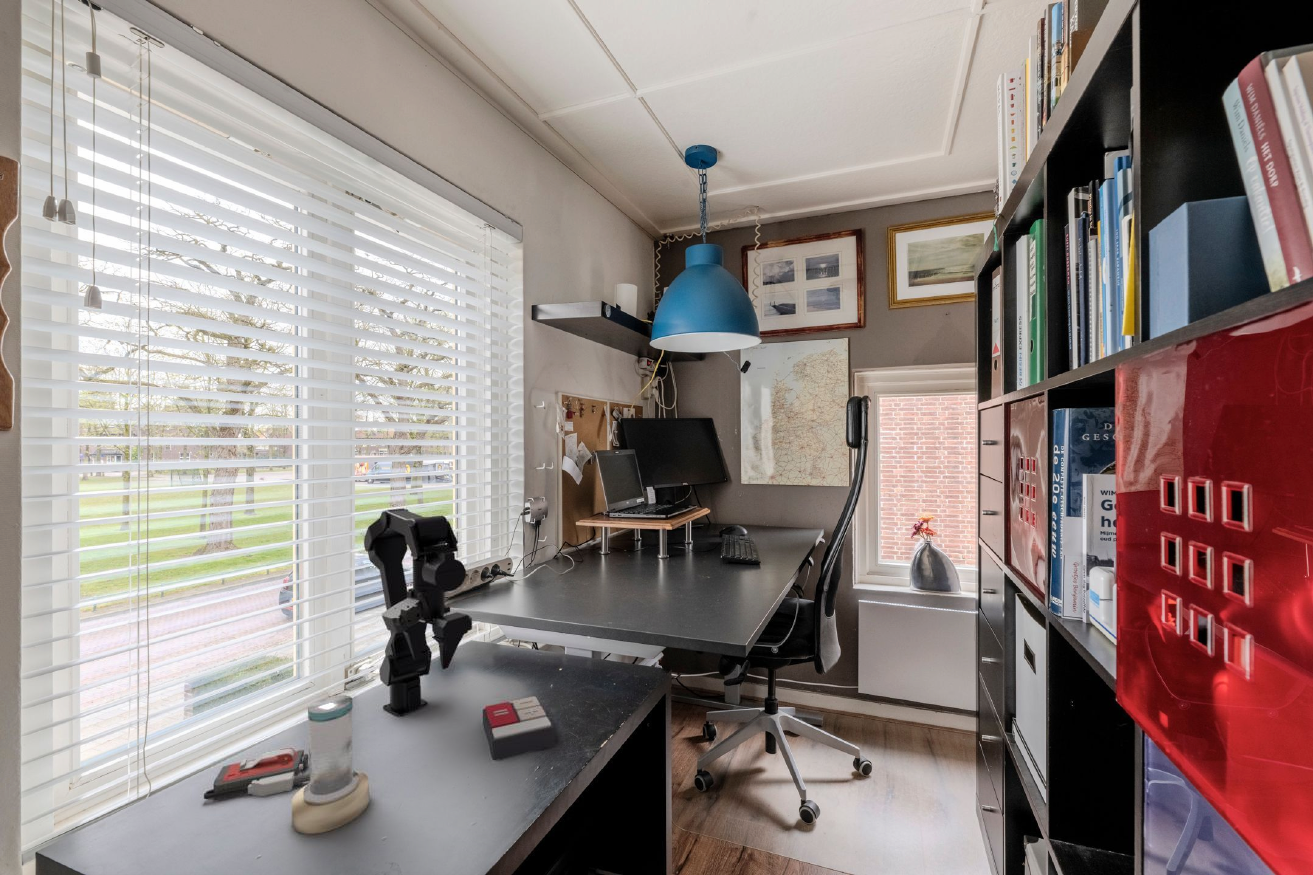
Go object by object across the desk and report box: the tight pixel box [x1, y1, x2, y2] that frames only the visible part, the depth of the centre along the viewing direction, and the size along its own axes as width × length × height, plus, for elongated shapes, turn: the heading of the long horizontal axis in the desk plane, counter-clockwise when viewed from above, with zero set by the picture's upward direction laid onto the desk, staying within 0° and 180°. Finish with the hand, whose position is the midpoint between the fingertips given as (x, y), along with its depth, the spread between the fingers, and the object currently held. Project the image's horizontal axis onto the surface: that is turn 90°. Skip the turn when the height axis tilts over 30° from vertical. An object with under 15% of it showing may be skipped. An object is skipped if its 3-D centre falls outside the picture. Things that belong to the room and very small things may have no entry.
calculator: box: [482, 696, 556, 761], centre depth 105 cm, size 11×4×15 cm
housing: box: [303, 694, 359, 806], centre depth 83 cm, size 7×7×13 cm
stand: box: [291, 770, 370, 835], centre depth 83 cm, size 10×10×3 cm
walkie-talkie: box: [203, 747, 310, 801], centre depth 92 cm, size 9×4×20 cm
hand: (430, 663), depth 106 cm, fingers open, 9 cm apart
